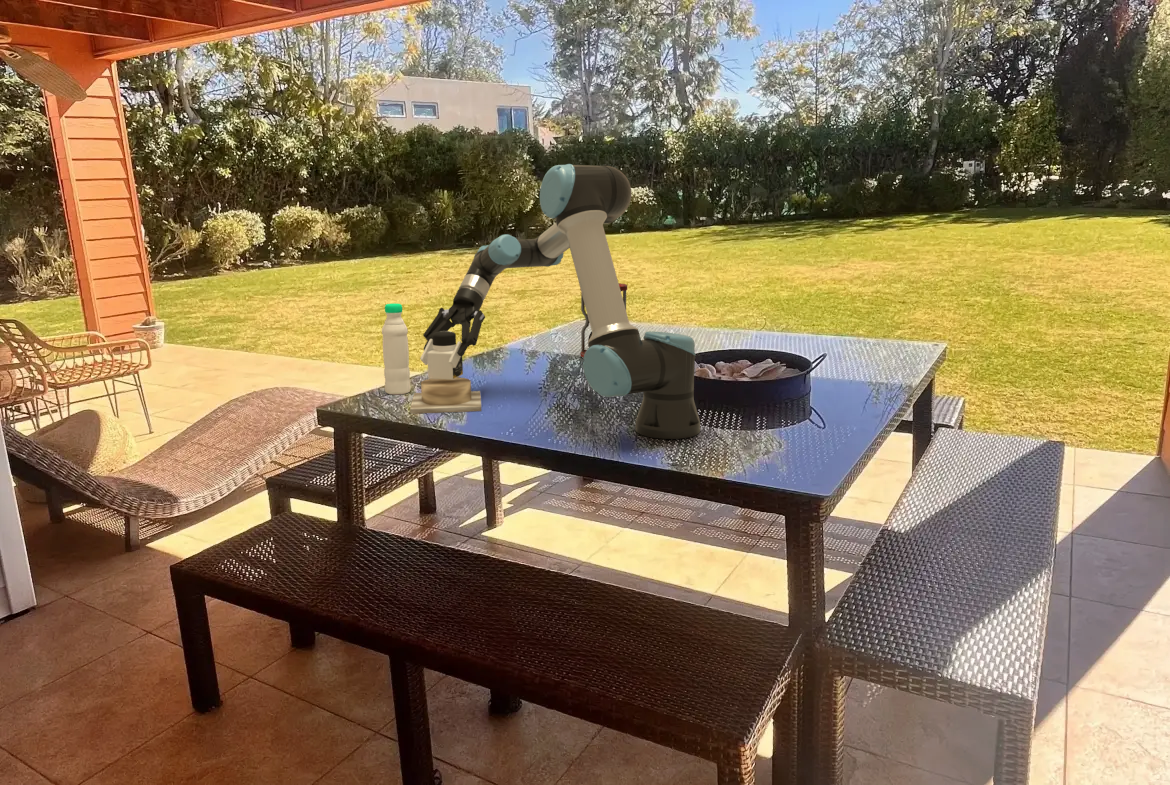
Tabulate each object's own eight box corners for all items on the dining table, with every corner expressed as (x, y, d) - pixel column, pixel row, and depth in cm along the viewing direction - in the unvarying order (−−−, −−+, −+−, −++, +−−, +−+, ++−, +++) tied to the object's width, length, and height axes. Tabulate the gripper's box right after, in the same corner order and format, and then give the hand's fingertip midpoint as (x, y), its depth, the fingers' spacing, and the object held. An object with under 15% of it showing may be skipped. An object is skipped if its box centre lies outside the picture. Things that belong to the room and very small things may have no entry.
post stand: (481, 411, 213) (480, 388, 211) (410, 413, 210) (408, 390, 209) (480, 395, 230) (479, 374, 229) (414, 397, 228) (413, 376, 226)
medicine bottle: (453, 380, 214) (451, 334, 212) (427, 379, 216) (425, 333, 213) (463, 374, 221) (461, 330, 218) (438, 373, 223) (436, 329, 220)
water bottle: (415, 392, 234) (411, 303, 228) (394, 396, 229) (389, 306, 223) (401, 388, 238) (396, 301, 233) (380, 392, 233) (375, 304, 228)
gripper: (509, 306, 223) (477, 375, 213) (445, 302, 232) (412, 368, 222) (498, 288, 217) (464, 358, 207) (433, 284, 227) (398, 351, 216)
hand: (437, 363), depth 215 cm, fingers closed on medicine bottle, 8 cm apart
